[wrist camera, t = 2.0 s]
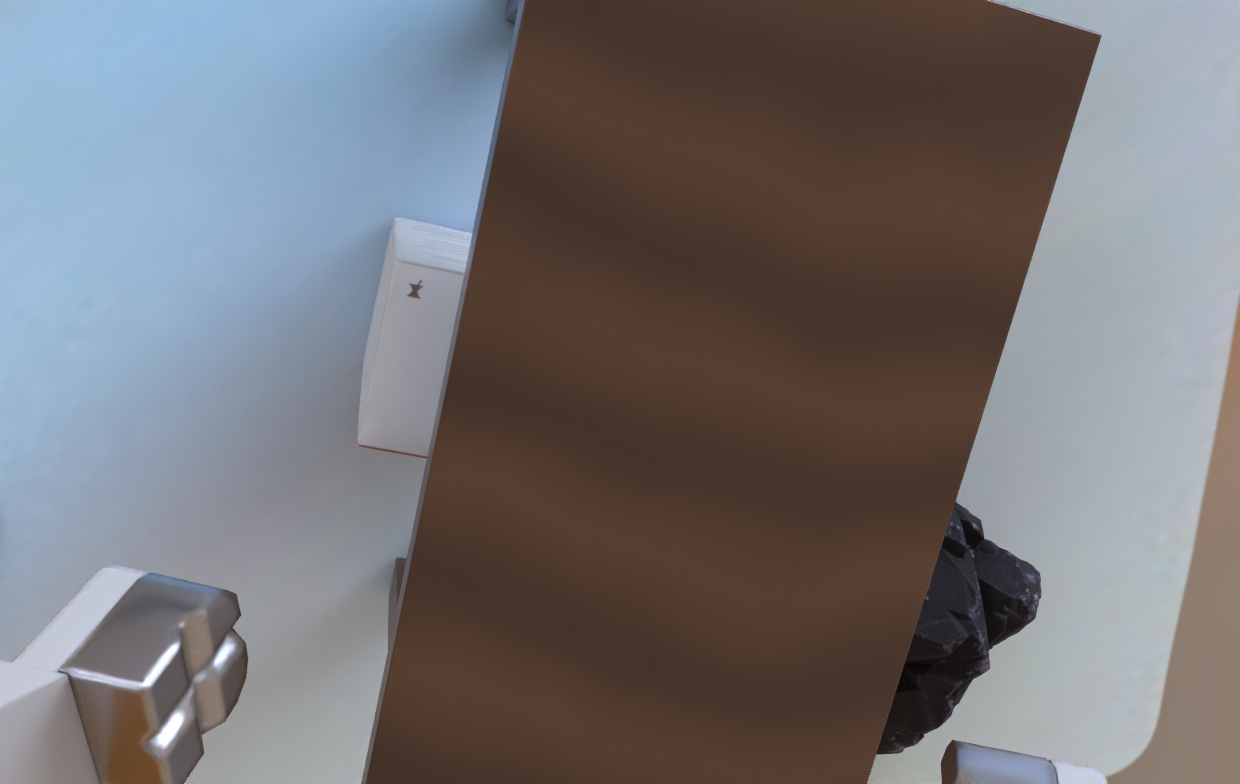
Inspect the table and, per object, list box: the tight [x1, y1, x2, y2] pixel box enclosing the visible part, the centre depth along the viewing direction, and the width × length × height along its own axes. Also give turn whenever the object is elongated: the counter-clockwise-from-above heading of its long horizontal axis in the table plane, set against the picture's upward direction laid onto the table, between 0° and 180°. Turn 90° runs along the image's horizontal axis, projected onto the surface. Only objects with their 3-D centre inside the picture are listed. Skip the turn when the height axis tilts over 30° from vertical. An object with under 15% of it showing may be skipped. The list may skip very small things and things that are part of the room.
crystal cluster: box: [876, 502, 1041, 754], centre depth 50 cm, size 13×14×10 cm
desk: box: [361, 0, 1101, 784], centre depth 39 cm, size 28×16×18 cm, turn 167°
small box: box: [358, 217, 473, 458], centre depth 40 cm, size 8×6×13 cm
